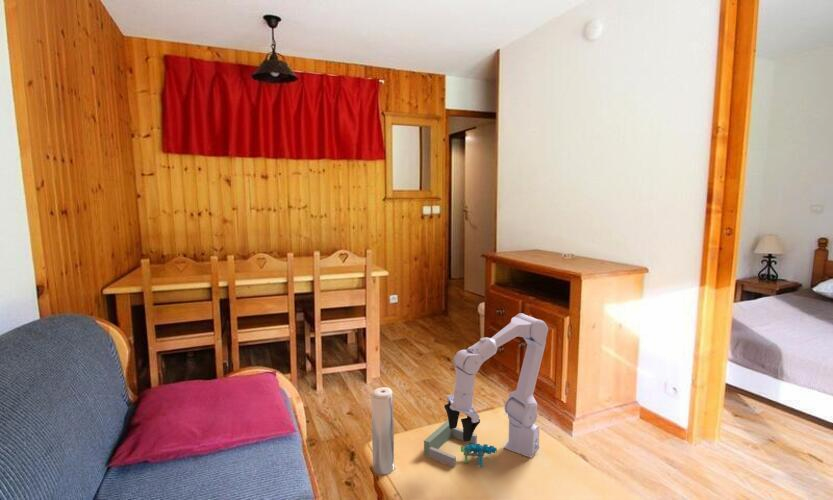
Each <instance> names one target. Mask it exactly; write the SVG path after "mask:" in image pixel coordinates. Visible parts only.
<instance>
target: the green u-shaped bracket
mask: <svg viewBox="0 0 833 500" xmlns="http://www.w3.org/2000/svg"><path fill="white" fill-rule="evenodd" d="M452 437H453V438H456V439H458V440H461V441H463V428H459V427H456V428H453V429H450V427H449V421H448V419H447V420H446V421H445V422H444V423H443V424H442V425H440V426H439V427H438V428H437V429H436V430H434V431H433V432H432V433H431V434H429V436H428V437H426V438H425V439H424V440H423V456H425V457H428V458H430V459H433V460H435V461H438V462H440V463H442V464H444V465H447V466H450V467H452V468H455V467H456V466H457V462H456V461H457V457H456V456H455V455H453V454H451V453H448V452H446V451H443V450H441V449H440V448H441V447H442V446H443V445H444V444H445V443H447V441H449V439H450V438H452ZM467 443H469V444H473V445H476V444H478V435H477V434H475V433H473V435H472V437H471V440H470V441H467Z"/></svg>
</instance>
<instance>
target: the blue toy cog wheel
mask: <svg viewBox="0 0 833 500" xmlns="http://www.w3.org/2000/svg"><path fill="white" fill-rule="evenodd" d="M497 450H498V449H497V447H495V446H494V445H489V444H485V443H484V444H482V445H481V444H480V443H477V444H476V445H474V444H471V443H469V444H468V445H467V444H466V445H465V446H461V447H460V452H461V453H463V456H464V464H466V465H467V464H468V456H470V457H472V456H473V457H478V467H480V468H483V456H484V455H485V454H486V455H487V454H488V455H491V454H496V452H497Z"/></svg>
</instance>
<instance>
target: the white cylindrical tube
mask: <svg viewBox="0 0 833 500" xmlns="http://www.w3.org/2000/svg"><path fill="white" fill-rule="evenodd" d="M370 396H371V397H370V398H371V433H372V435H371V438H372V439H371V442H372V471H373V473H375V474H377V475H379V476H386V475H389V474H391V473H393V471H394V469H395V441H394V439H395V437H394V435H395V433H394V432H395V431H394V424H395V423H394V393H393V390H392V388H390V387H386V386H385V387H384V386H383V387H378V388H377V387H376V389H374V390H373V393H372V394H371V395H370Z"/></svg>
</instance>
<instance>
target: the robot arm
mask: <svg viewBox="0 0 833 500" xmlns="http://www.w3.org/2000/svg"><path fill="white" fill-rule="evenodd" d="M548 333H549V327H548V326H547V323H546V321H544V320H542V319H538V318H535V317H532V316H530V315H526V314H525V313H522V312H521V313H517V314H516V315H515V316H513V317H512V318H511V319H510V322H509V323H508V324H507V325H506V326H504V327H503V328H502V329H501V330H499V331H498V332H497V333H495V334H494V335H493V336H492V337H487V336H486V337H481V338H479V341H478V342H476V343H474V344H473V345H471V346H469V347H468V348H467V349H461V350H459V351H457V352H456V353H455V355H454V357H453V358H452V364H453V365H454V371H455V377H454V388H453V389H454V392H453V394H447V395H446V402H447V404H444V410H445V411H446V416H447V420H448V421H449V427H450V429H453V428H458V422H459V418H460V414H464V415H465V417H463V418H461V419H460V421H461V425H462V430H463V440H462V441H463V443H466V442H467V441H470V440H471V437H472V435H473V434H474V431H475V430H476V428H477V427H478V425H479V424H480V423H481V419H480V415H479V414H478V412H477V411H476V409H475V408H474V406H473V401H474V400H473V399H474V388H475V379H476V373H478V371H479V370H480V368H481V366H482V365H483V364H484V362H486V361H487V360H488V359H490V358H492V356H494V355H496V353H497V352H498V348H499V347H501V346H503V345H504V344H506V343H508V342H510V341H512V340H513V339H515V338H516V337H520V338H523V340H524V341H525V342H526V348H525V353H524V358H523V361H522V364H521V369H520V373H519V377H518V381H517V385H516V389H515V390H514V391H510V392H509V396H508V398H507V400H505V403H504V406H503V407H504V408H503V409H504V412H505V414H507V418H508V441H507V442H506V443H505V444H504V445H503V448H504V449H506V450H509V451H511V452H513V453H516V454H519V455H523V456H525V457H528V458H530V459H531V458H533V456H534V455H535V454H536V452H537V450H538V449H539V447H540V427H539V426H538V425H536V424H535V423H536V421H537V418H538V402H537V400H536V398H535V397H534V393H535V388H536V385H537V379H538V377H539V373H540V372H539V371H540V368H541V363H542V362H543V361H542V359H543V356H544V352H545V348H546V345H547V336H548ZM467 443H468V442H467Z"/></svg>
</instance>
